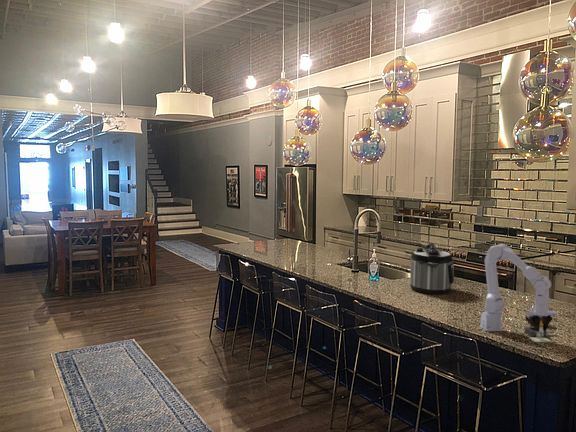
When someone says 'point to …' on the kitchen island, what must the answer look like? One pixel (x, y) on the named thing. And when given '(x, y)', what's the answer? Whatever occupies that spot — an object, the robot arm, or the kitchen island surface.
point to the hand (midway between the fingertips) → (540, 330)
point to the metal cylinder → (540, 330)
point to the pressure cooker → (431, 270)
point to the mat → (540, 339)
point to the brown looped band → (531, 319)
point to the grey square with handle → (532, 332)
